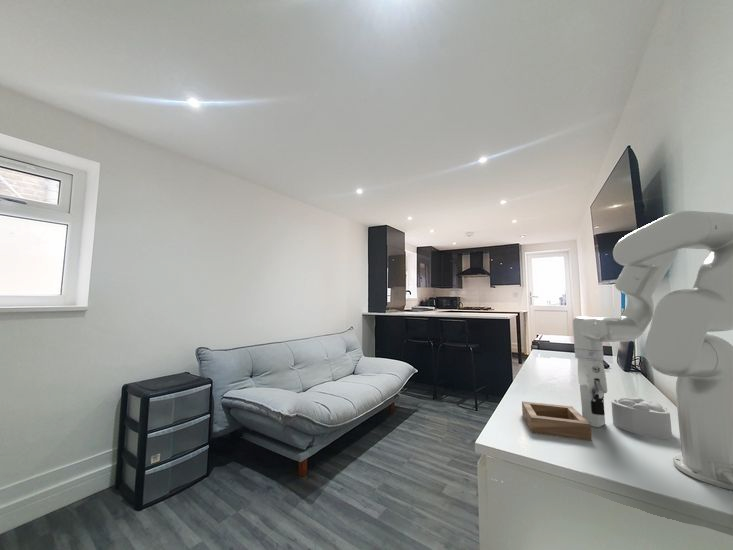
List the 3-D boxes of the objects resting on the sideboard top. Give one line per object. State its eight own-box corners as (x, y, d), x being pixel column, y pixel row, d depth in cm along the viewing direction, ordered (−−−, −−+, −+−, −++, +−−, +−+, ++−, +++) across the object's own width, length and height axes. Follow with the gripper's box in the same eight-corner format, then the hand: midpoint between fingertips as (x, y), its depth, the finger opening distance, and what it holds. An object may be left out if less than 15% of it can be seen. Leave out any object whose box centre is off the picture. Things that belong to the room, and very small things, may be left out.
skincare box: (598, 428, 90) (595, 388, 91) (581, 423, 93) (579, 384, 94) (606, 423, 93) (603, 385, 94) (589, 419, 97) (586, 382, 98)
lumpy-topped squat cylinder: (674, 442, 81) (671, 410, 82) (613, 429, 89) (611, 400, 90) (667, 429, 89) (664, 400, 90) (612, 418, 97) (610, 392, 98)
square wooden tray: (591, 440, 81) (590, 424, 82) (531, 432, 86) (531, 417, 87) (573, 420, 95) (572, 406, 96) (522, 414, 100) (521, 401, 101)
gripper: (615, 359, 86) (620, 421, 84) (591, 351, 102) (595, 402, 100) (585, 358, 88) (590, 418, 87) (566, 349, 105) (570, 400, 103)
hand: (592, 409), depth 94 cm, fingers closed on skincare box, 7 cm apart
